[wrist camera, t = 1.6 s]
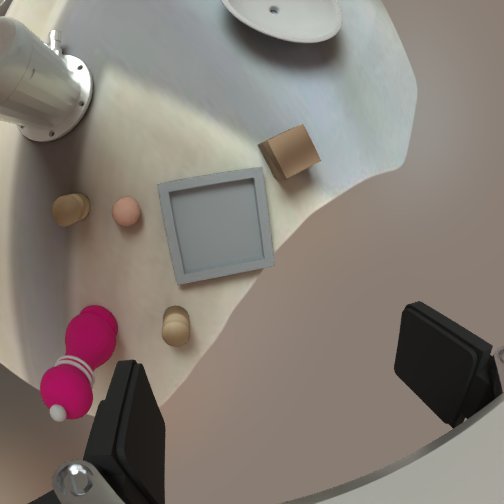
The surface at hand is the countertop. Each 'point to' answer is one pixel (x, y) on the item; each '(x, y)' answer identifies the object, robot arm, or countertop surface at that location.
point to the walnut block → (289, 152)
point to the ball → (126, 211)
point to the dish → (290, 18)
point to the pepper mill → (79, 363)
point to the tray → (217, 224)
